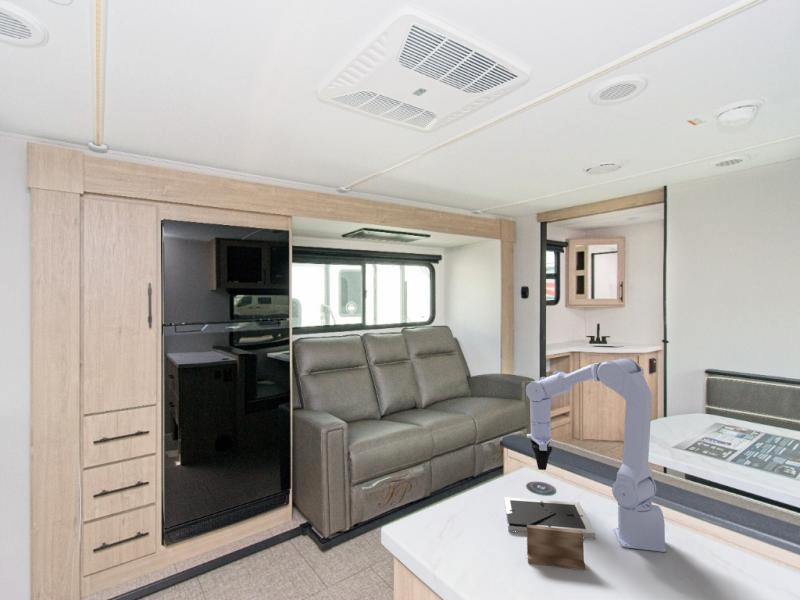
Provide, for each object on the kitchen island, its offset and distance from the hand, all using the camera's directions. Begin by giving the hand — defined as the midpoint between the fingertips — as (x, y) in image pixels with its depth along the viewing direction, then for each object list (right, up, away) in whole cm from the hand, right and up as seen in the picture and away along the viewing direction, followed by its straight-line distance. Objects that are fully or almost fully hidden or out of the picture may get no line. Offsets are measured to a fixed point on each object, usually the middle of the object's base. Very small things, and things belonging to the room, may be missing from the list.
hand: (541, 466), depth 122 cm
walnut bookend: (-7, -9, -30) cm, 32 cm away
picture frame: (-3, -10, -12) cm, 16 cm away
